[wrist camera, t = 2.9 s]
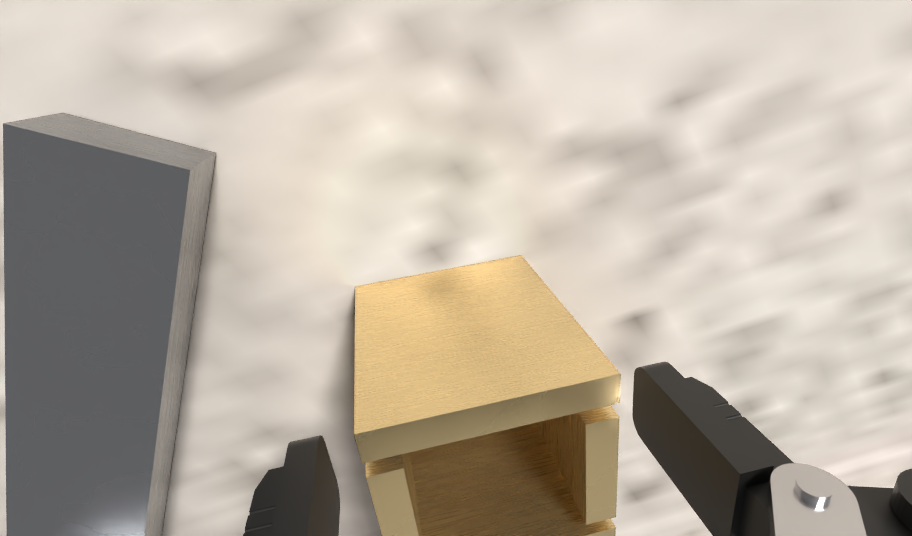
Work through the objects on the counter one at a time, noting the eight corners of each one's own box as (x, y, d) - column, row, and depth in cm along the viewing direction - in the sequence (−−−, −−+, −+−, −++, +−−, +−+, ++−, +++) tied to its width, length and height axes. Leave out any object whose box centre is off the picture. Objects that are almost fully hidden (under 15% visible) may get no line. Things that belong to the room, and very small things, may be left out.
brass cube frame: (386, 419, 16) (401, 606, 10) (355, 287, 14) (354, 434, 8) (530, 387, 16) (614, 547, 11) (521, 255, 14) (620, 373, 9)
